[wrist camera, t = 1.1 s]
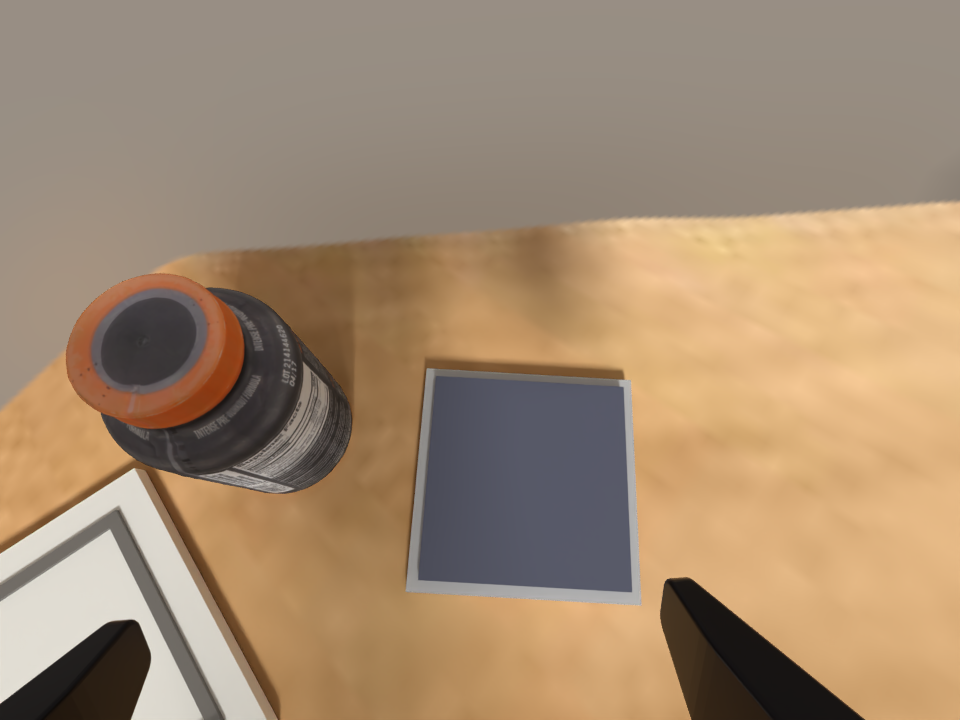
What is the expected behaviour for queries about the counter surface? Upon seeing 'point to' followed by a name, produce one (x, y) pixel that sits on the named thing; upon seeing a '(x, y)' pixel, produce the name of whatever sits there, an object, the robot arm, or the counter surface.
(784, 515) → the counter surface
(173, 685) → the board
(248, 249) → the counter surface
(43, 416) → the counter surface
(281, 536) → the counter surface
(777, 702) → the robot arm
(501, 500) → the ink pad
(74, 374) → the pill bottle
